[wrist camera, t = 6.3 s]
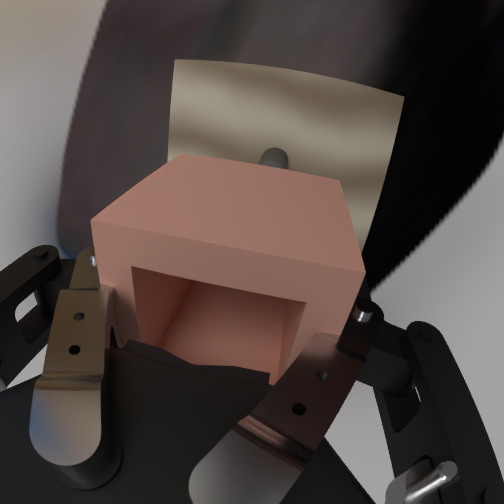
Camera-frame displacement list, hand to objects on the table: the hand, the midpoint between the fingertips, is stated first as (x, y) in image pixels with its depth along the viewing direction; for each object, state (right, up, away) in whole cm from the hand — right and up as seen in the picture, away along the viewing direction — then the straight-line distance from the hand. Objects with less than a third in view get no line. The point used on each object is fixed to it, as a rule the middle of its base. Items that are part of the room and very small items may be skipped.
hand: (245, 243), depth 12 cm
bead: (0, 0, +1) cm, 1 cm away
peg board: (+2, +7, +12) cm, 14 cm away
